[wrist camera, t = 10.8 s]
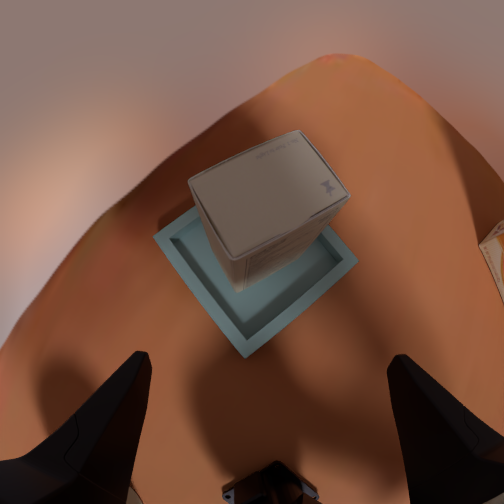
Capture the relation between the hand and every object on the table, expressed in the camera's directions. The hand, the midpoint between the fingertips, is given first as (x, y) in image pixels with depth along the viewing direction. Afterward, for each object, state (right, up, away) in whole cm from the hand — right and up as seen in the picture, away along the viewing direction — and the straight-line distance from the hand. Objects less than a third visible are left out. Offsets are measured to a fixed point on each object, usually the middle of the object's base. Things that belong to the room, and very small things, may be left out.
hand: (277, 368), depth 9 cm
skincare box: (-1, +4, +15) cm, 15 cm away
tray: (-1, +4, +15) cm, 15 cm away
